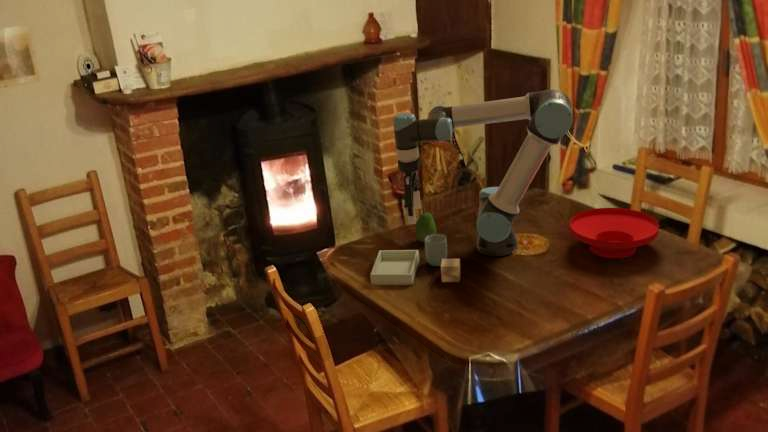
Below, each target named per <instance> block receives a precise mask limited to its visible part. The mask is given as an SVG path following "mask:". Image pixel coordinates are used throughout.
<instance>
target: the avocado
mask: <svg viewBox="0 0 768 432" xmlns="http://www.w3.org/2000/svg"><path fill="white" fill-rule="evenodd" d="M414 229H415V235H416V238H417V239H418V240H419V242H421V243H424V244H425V238H426V237H427V236H428V235H432V234H437V226H436V223H435V219H434V217H433V215H432V214H431V213H430V212H422V213H421V214H420V215H419V217H418V220H416V224H415V228H414Z"/></svg>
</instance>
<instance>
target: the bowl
mask: <svg viewBox="0 0 768 432" xmlns="http://www.w3.org/2000/svg"><path fill="white" fill-rule="evenodd" d="M568 230H569V233H570V235H571V236H572V237H573V238H575V239H576V240H578V241H580V242H582V243H584V244H587V245H589V250H590V252H591V253H593V254H594V255H596V256H598V257H602V258H607V259H624V258H628V257H631V256H632V255H634V254H635V253H636V251H637V247H640V246H644V245H648V244H650V243H651V242H653V241H655V240H656V239H657V238H658V236H659V231H660V223H659V222H658V220H657V219H656V218H654V217H653V216H651V215H649V214H647V213H645V212H643V211H640V210H635V209H630V208H624V207H623V208H622V207H600V208H599V207H598V208H592V209H588V210H584V211H581V212H579V213H576V214H575V215H574V216H573V217H571V218H570V220H569V229H568Z"/></svg>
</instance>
